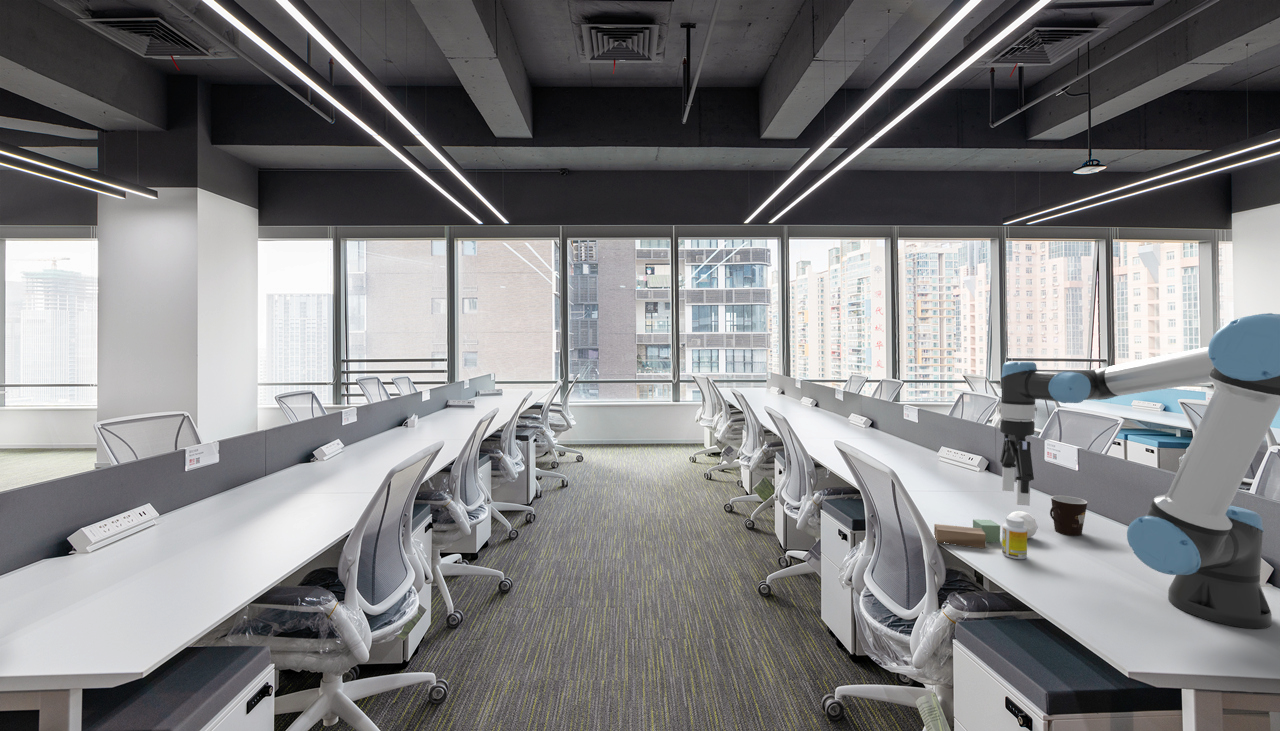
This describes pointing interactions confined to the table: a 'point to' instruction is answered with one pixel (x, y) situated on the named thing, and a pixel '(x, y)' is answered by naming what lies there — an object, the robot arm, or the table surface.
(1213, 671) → the table surface
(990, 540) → the green cube
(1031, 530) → the geometric ball
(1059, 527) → the coffee mug
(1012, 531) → the supplement bottle
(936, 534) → the walnut block
